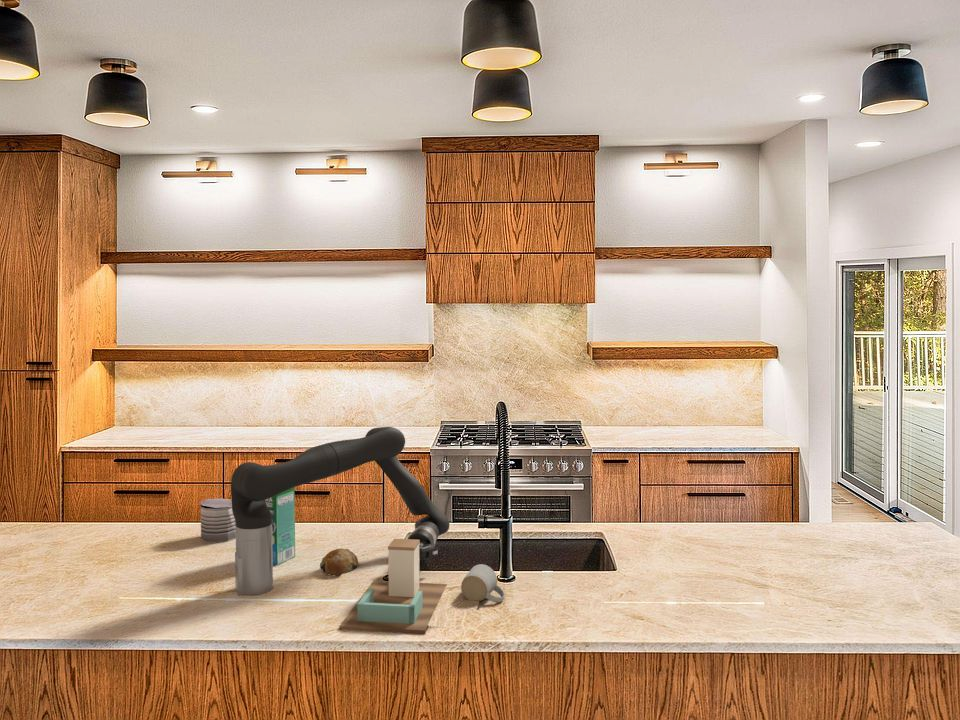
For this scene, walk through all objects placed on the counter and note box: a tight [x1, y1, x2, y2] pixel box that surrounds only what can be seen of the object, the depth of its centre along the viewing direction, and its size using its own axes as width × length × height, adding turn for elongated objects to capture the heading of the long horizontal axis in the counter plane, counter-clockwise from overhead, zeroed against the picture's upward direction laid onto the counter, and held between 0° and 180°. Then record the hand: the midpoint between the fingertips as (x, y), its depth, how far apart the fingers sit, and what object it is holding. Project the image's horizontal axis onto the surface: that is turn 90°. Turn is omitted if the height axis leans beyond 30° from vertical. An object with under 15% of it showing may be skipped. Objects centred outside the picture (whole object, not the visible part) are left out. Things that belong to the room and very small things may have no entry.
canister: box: [387, 538, 420, 597], centre depth 197 cm, size 7×7×13 cm
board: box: [339, 580, 447, 635], centre depth 189 cm, size 30×20×1 cm, turn 173°
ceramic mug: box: [460, 563, 506, 604], centre depth 194 cm, size 11×8×8 cm
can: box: [199, 498, 236, 544], centre depth 246 cm, size 11×11×12 cm
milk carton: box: [265, 487, 296, 566], centre depth 224 cm, size 9×9×25 cm
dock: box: [357, 588, 423, 624], centre depth 182 cm, size 10×13×4 cm
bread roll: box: [319, 548, 359, 576], centre depth 216 cm, size 10×10×8 cm
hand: (408, 560), depth 203 cm, fingers closed
